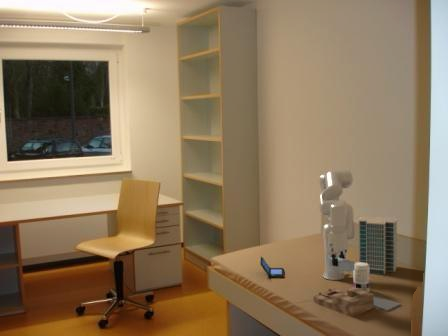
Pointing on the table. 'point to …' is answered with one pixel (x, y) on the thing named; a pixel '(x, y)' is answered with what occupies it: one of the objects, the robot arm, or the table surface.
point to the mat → (385, 303)
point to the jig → (346, 301)
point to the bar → (343, 264)
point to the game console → (272, 270)
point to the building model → (378, 243)
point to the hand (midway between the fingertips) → (338, 264)
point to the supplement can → (361, 276)
